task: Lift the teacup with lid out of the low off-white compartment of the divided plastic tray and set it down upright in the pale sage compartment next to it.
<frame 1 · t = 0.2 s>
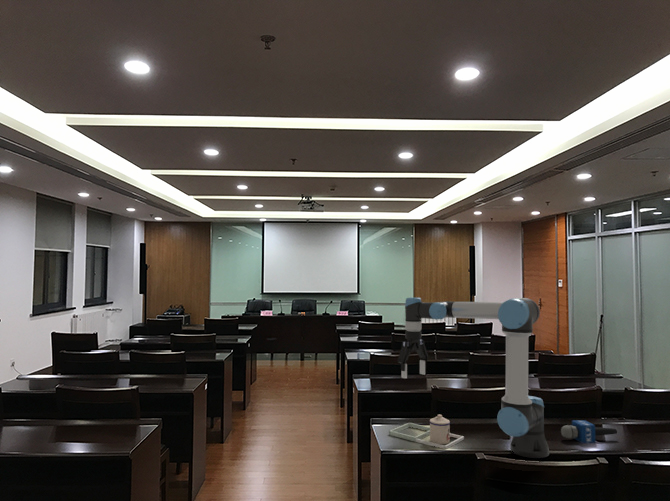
hand: (413, 376, 227), 27 cm above the table, tool pointing down, fingers open, 13 cm apart
teacup with lid: (439, 440, 218), resting in divided tray
divided tray: (426, 437, 223), on the table
microphone: (589, 440, 220), on the table
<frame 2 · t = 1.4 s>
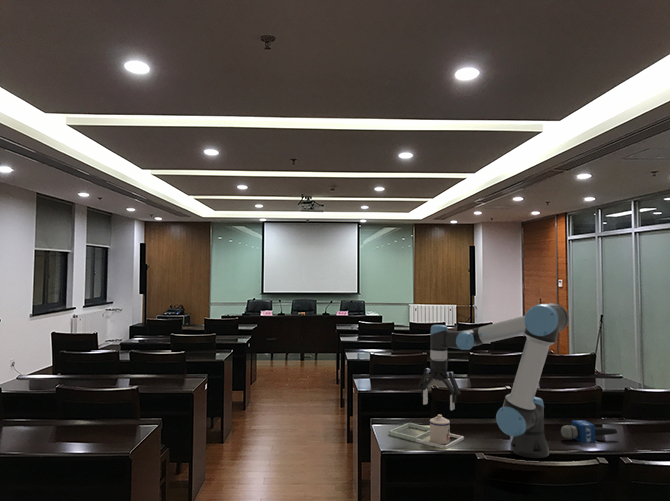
hand: (438, 406, 219), 15 cm above the table, tool pointing down, fingers open, 13 cm apart
nothing on the table moved.
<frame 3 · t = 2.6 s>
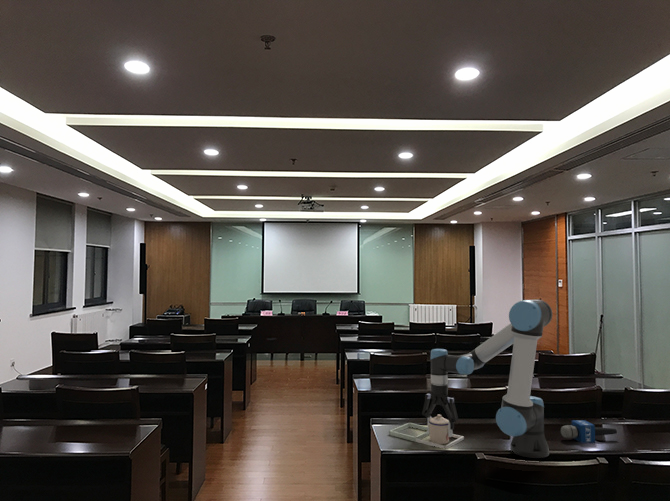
hand: (440, 434, 218), 3 cm above the table, tool pointing down, fingers open, 10 cm apart
teacup with lid: (438, 440, 218), resting in divided tray, touching gripper
everything else where it was.
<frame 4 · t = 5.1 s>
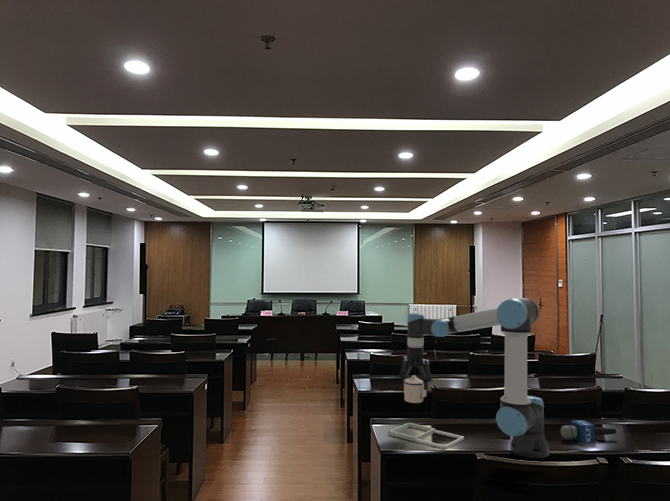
hand: (415, 394, 228), 18 cm above the table, tool pointing down, fingers closed on teacup with lid, 9 cm apart
teacup with lid: (413, 400, 228), point 15 cm above the table, touching gripper
everything else where it was.
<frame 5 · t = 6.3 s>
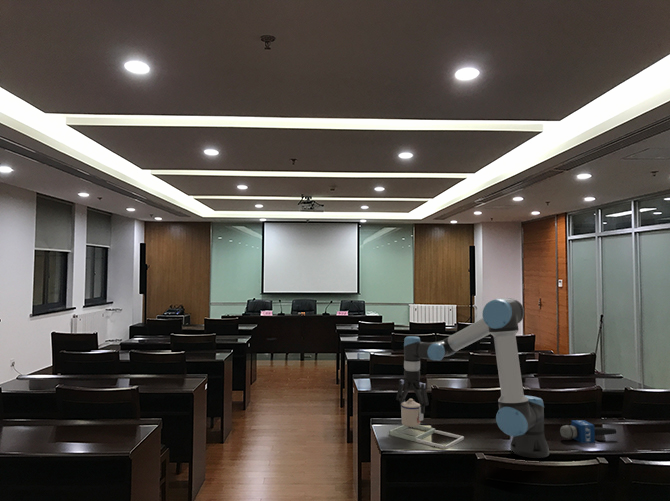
hand: (412, 418, 228), 7 cm above the table, tool pointing down, fingers closed on teacup with lid, 9 cm apart
teacup with lid: (410, 423, 228), point 4 cm above the table, touching gripper
everything else where it was.
when the fingers open (4 cm above the table, at t = 7.2 s): teacup with lid drops 2 cm, resting in divided tray.
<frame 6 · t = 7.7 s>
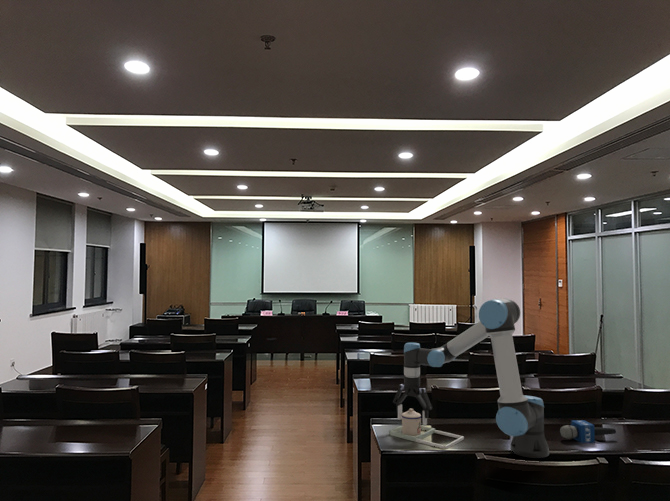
hand: (412, 421, 228), 5 cm above the table, tool pointing down, fingers open, 13 cm apart
teacup with lid: (411, 433, 228), resting in divided tray
everything else where it was.
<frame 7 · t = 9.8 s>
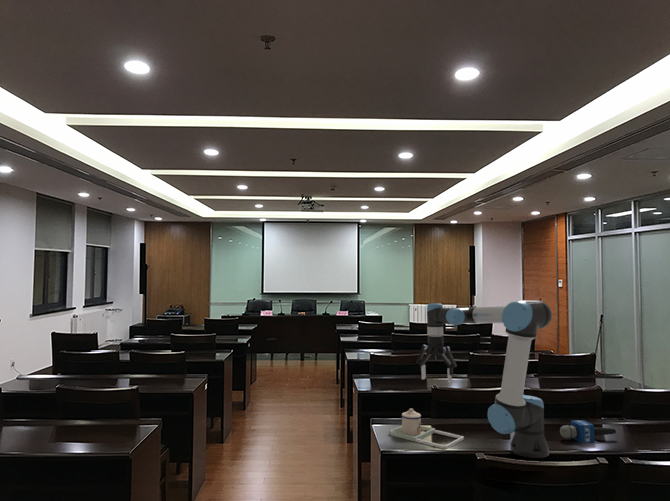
hand: (436, 380, 232), 24 cm above the table, tool pointing down, fingers open, 13 cm apart
nothing on the table moved.
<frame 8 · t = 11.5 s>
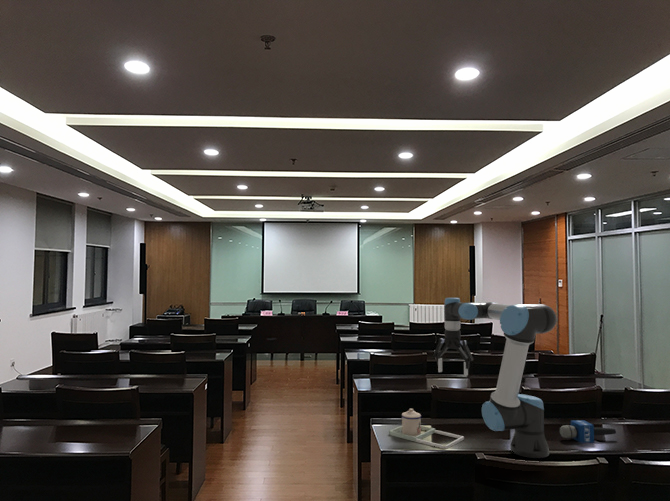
hand: (452, 373, 235), 27 cm above the table, tool pointing down, fingers open, 13 cm apart
nothing on the table moved.
at the end: teacup with lid inside the target area on the divided tray (0.5 cm from its centre), point 0.0 cm above the divided tray's base; teacup with lid tilted 0°; the gripper is holding nothing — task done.
